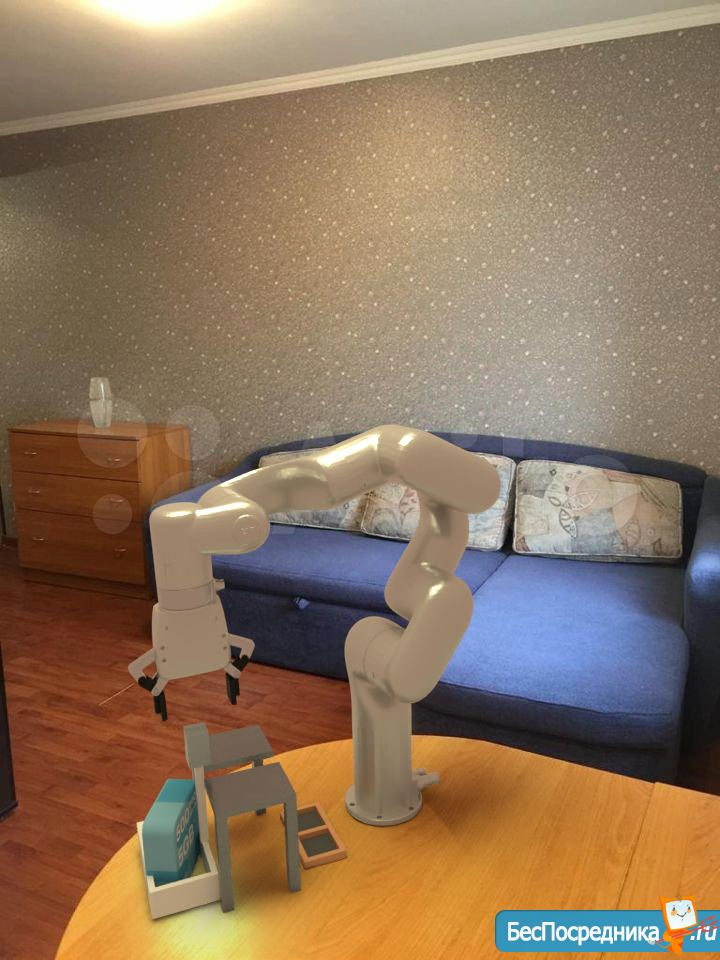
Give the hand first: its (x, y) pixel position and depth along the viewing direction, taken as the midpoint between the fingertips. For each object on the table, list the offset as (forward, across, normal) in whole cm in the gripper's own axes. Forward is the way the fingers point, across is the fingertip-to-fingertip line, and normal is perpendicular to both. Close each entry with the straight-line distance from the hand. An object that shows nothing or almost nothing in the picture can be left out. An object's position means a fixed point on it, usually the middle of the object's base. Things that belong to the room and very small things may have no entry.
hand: (198, 708), depth 109 cm
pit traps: (+25, -15, 0) cm, 29 cm away
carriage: (+25, +6, 0) cm, 25 cm away
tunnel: (+25, -4, 0) cm, 26 cm away
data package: (+25, +6, 0) cm, 25 cm away
